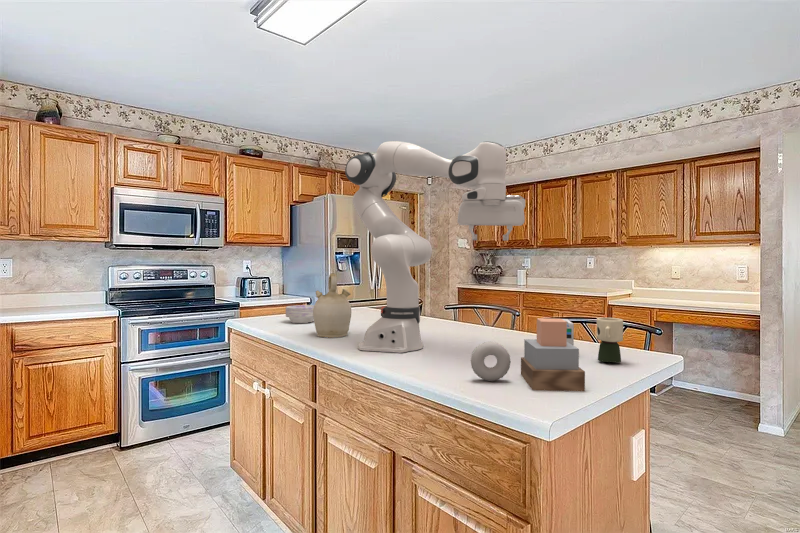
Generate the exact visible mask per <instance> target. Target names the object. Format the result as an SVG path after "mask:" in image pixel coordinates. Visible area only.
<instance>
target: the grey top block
mask: <svg viewBox="0 0 800 533" xmlns="http://www.w3.org/2000/svg"><path fill="white" fill-rule="evenodd" d="M523 340H524V341H523V342H524V346H523V347H524V350H523V352H524V354H523V355H524V358H525V359H526V360H527V361H528V362H529V363H530V364H531V365H532V366H533V367H534V368H535V369H548V370H579V366H580V364H579V363H580V359H579V358H580V349H579V347H577V346H575V345H574V346H573V345H571V344H570V343H568V342H567V347H564V346H541V345H540V344H539V343H538V342H537V338H535V339H534V338H532V339H531V338H530V339H529V338H526V339H523Z"/></svg>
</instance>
